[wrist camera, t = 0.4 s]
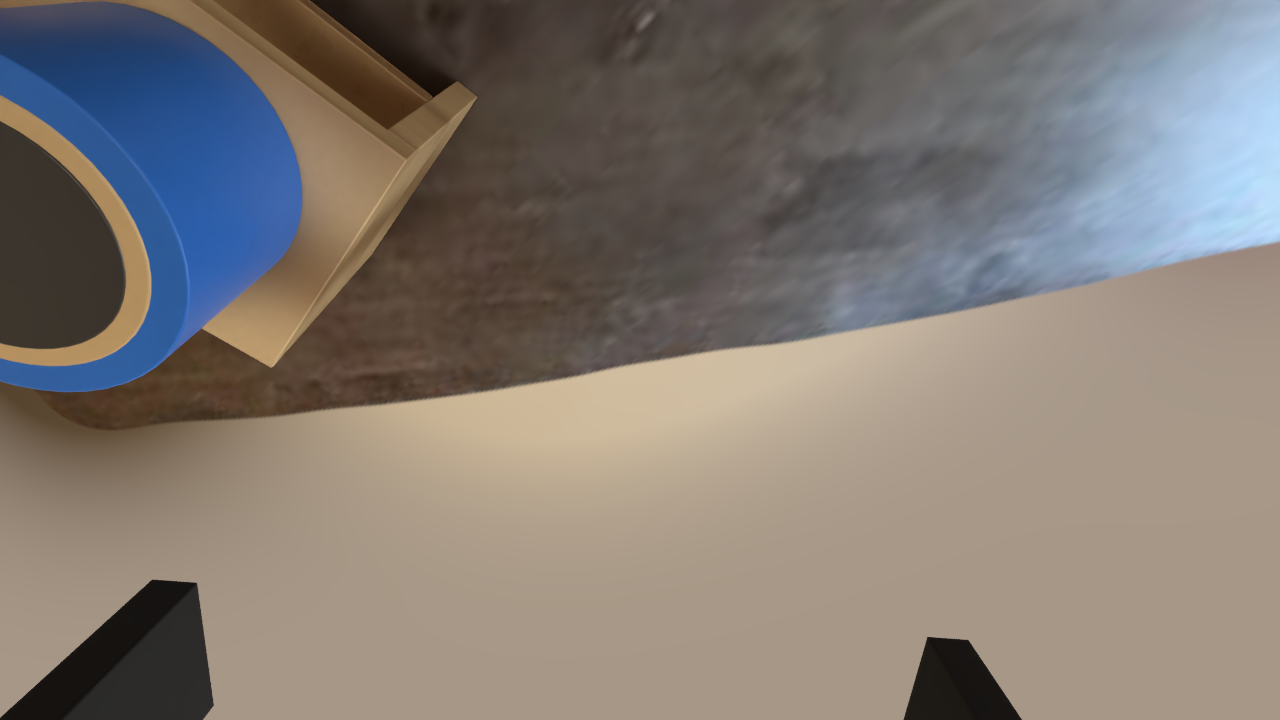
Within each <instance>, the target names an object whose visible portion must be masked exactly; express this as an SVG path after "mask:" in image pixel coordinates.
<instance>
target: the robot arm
mask: <svg viewBox="0 0 1280 720" xmlns="http://www.w3.org/2000/svg"><path fill="white" fill-rule="evenodd" d="M213 706H214V704H213V697H212V689H211V682H210V675H209V668H208V661H207V654H206V646H205V638H204V631H203V624H202V616H201V609H200V602H199V594H198V587H197V583H191V582H177V581H164V580H152V581H150V582H149V583H148V584H147V585H146V586H145V587H144V588H143V589H141V590H140V591H139V592H138V593H137V594H136V595H135V596H134V597H133V598H132V599H130V600H129V601H128V602H127V603H126V604H125V605H124V606H123V607H122V608H121V609H120V610H118V611H117V612H116V613H115V614H114V615H113V616H112V617H111V618H110V619H108V620H107V621H106V622H105V623H104V624H103V625H102V626H101V627H100V628H99V629H97V630H96V631H95V632H94V633H93V634H92V635H91V636H90V637H89V638H88V639H86V640H85V641H84V642H83V643H82V644H81V645H80V646H79V647H78V648H76V649H75V650H74V651H73V652H72V653H71V654H70V655H69V656H68V657H67V658H66V659H64V660H63V661H62V662H61V663H60V664H59V665H58V666H57V667H56V668H54V669H53V670H52V671H51V672H50V673H49V674H48V675H47V676H46V677H45V678H44V679H42V680H41V681H40V682H39V683H38V684H37V685H36V686H35V687H34V688H33V689H31V690H30V691H29V692H28V693H27V694H26V695H25V696H24V697H23V698H22V699H20V700H19V701H18V702H17V703H16V704H15V705H14V706H13V707H12V708H10V709H9V710H8V711H7V712H6V713H5V714H4V715H3V716H2V717H1V718H0V720H203V719H204V718H205V716H206V715H207V714H208V712H209V711H210V709H211V708H212V707H213ZM904 720H1022V719H1021V718H1020V717H1019V715H1018V713H1017V712H1016V710H1015V709H1014V707H1013V706H1012V704H1011V703H1010V701H1009V700H1008V698H1007V697H1006V695H1005V694H1004V692H1003V691H1002V690H1001V688H1000V687H999V685H998V684H997V682H996V681H995V679H994V678H993V676H992V675H991V673H990V672H989V670H988V669H987V667H986V666H985V664H984V663H983V661H982V660H981V658H980V657H979V655H978V654H977V652H976V651H975V650H974V648H973V646H972V645H971V644H970V642H969V640H960V639H947V638H933V637H927V641H926V644H925V648H924V651H923V655H922V658H921V662H920V665H919V669H918V672H917V675H916V679H915V682H914V686H913V690H912V693H911V696H910V700H909V703H908V707H907V710H906V713H905V717H904Z"/></svg>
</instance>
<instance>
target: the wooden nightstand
mask: <svg viewBox="0 0 1280 720" xmlns="http://www.w3.org/2000/svg"><path fill="white" fill-rule="evenodd" d="M97 1H103V2H111V3H120V4H126V5H130V6H134V7H138V8H142V9H145V10H148V11H151V12H153V13H156V14H159V15H161V16H164V17H167V18H169V19H171V20H173V21H175V22H177V23H179V24H181V25H183V26H185V27H187V28H189V29H190V30H192V31H193V32H195V33H197V34H198V35H200V36H201V37H203V38H204V39H206V40H207V41H209V42H210V43H212V44H213V45H214V46H216V47H217V48H218V49H219V50H221V51H222V52H223V53H224V54H226V55H227V56H228V57H229V58H231V59H232V60H233V61H234V62H235V63H236V64H237V65H238V66H239V67H240V68H241V69H242V70H243V71H244V72H245V73H246V74H247V75H248V76H249V77H250V78H251V80H252V81H253V82H254V83H255V84H256V85H257V87H258V88H259V89H260V90H261V91H262V93H263V94H264V95H265V97H266V98H267V100H268V101H269V103H270V104H271V105H272V107H273V108H274V110H275V111H276V113H277V115H278V117H279V119H280V120H281V122H282V124H283V126H284V128H285V129H286V132H287V134H288V136H289V139H290V141H291V143H292V146H293V148H294V151H295V155H296V158H297V162H298V165H299V170H300V176H301V182H302V210H301V218H300V222H299V225H298V229H297V232H296V235H295V237H294V239H293V241H292V243H291V245H290V247H289V249H288V250H287V251H286V253H285V254H284V255H283V257H282V258H281V259H280V260H279V261H278V262H277V263H276V264H275V265H274V266H273V267H272V268H271V269H270V270H269V271H267V272H266V273H265V274H264V275H263V276H262V277H260V278H259V279H258V280H257V281H256V282H255V283H253V284H252V285H251V286H250V287H249V288H248V289H246V290H245V291H244V292H243V293H242V294H241V295H239V296H238V297H237V298H236V299H235V300H234V301H232V302H231V303H230V304H229V305H228V306H227V307H225V308H224V309H223V310H222V311H221V312H220V313H218V314H217V315H216V316H215V317H214V318H213V319H212V320H210V321H209V322H208V323H207V324H206V325H205V326H203V327H202V329H204V330H206V331H207V332H209V333H211V334H213V335H215V336H216V337H218V338H220V339H222V340H223V341H225V342H227V343H229V344H230V345H232V346H234V347H236V348H237V349H239V350H241V351H243V352H245V353H246V354H248V355H250V356H252V357H253V358H255V359H257V360H259V361H260V362H262V363H264V364H266V365H268V366H269V367H273V366H274V365H275V364H276V363H277V362H278V360H279V359H280V358H281V357H282V356H283V355H284V354H285V352H286V351H287V350H288V349H289V348H290V347H291V346H292V345H293V343H294V342H295V341H296V340H297V339H298V338H299V337H300V335H301V334H302V333H303V332H304V331H305V330H306V329H307V327H308V326H309V325H310V324H311V323H312V322H313V321H314V320H315V318H316V317H317V316H318V315H319V314H320V313H321V312H322V310H323V309H324V308H325V307H326V306H327V305H328V304H329V302H330V301H331V300H332V299H333V298H334V297H335V296H336V295H337V293H338V292H339V291H340V290H341V289H342V288H343V287H344V285H345V284H346V283H347V282H348V281H349V280H350V279H351V277H352V276H353V275H354V274H355V273H356V272H357V271H358V270H359V268H360V267H361V266H362V265H363V264H364V263H365V262H366V260H367V259H368V258H369V257H370V256H371V255H372V253H373V252H374V250H375V249H376V247H377V246H378V244H379V243H380V241H381V240H382V238H383V237H384V235H385V234H386V233H387V231H388V230H389V228H390V227H391V225H392V224H393V222H394V221H395V219H396V218H397V216H398V215H399V213H400V212H401V210H402V209H403V207H404V206H405V204H406V203H407V201H408V200H409V198H410V197H411V195H412V194H413V192H414V191H415V189H416V188H417V186H418V185H419V183H420V182H421V180H422V179H423V178H424V176H425V175H426V173H427V172H428V170H429V169H430V167H431V166H432V164H433V163H434V161H435V160H436V158H437V157H438V155H439V154H440V152H441V151H442V149H443V148H444V146H445V145H446V143H447V142H448V140H449V139H450V137H451V136H452V134H453V133H454V131H455V130H456V128H457V127H458V126H459V124H460V123H461V121H462V120H463V118H464V117H465V115H466V114H467V112H468V111H469V109H470V108H471V106H472V105H473V103H474V102H475V100H476V99H477V96H476V95H474V94H473V93H472V92H471V91H469V90H468V89H467V88H466V87H464V86H463V85H462V84H461V83H459V82H458V81H456V82H455V83H453V84H452V85H451V86H449V87H448V88H446V89H445V90H443V91H442V92H441V93H439V94H438V95H436V96H435V97H432V96H431V95H430V94H429V93H428V92H426V91H425V90H424V89H422V88H421V87H420V86H419V85H417V84H416V83H415V82H414V81H412V80H411V79H410V78H408V77H407V76H406V75H405V74H403V73H402V72H401V71H399V70H398V69H397V68H396V67H394V66H393V65H392V64H391V63H389V62H388V61H387V60H385V59H384V58H383V57H382V56H380V55H379V54H378V53H377V52H375V51H374V50H373V49H371V48H370V47H369V46H368V45H366V44H365V43H364V42H362V41H361V40H360V39H359V38H357V37H356V36H355V35H354V34H352V33H351V32H350V31H348V30H347V29H346V28H345V27H343V26H342V25H341V24H339V23H338V22H337V21H336V20H334V19H333V18H332V17H331V16H329V15H328V14H327V13H325V12H324V11H323V10H322V9H320V8H319V7H318V6H317V5H315V4H314V3H313V2H311V1H310V0H0V8H10V7H23V6H35V5H48V4H61V3H73V2H97Z"/></svg>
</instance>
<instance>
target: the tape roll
mask: <svg viewBox="0 0 1280 720" xmlns="http://www.w3.org/2000/svg"><path fill="white" fill-rule="evenodd" d="M301 210H302V182H301V176H300V170H299V165H298V162H297V158H296V155H295V151H294V148H293V146H292V143H291V141H290V139H289V136H288V134H287V132H286V129H285V128H284V126H283V124H282V122H281V120H280V119H279V117H278V115H277V113H276V111H275V110H274V108H273V107H272V105H271V104H270V103H269V101H268V100H267V98H266V97H265V95H264V94H263V93H262V91H261V90H260V89H259V88H258V87H257V85H256V84H255V83H254V82H253V81H252V80H251V78H250V77H249V76H248V75H247V74H246V73H245V72H244V71H243V70H242V69H241V68H240V67H239V66H238V65H237V64H236V63H235V62H234V61H233V60H232V59H231V58H229V57H228V56H227V55H226V54H224V53H223V52H222V51H221V50H219V49H218V48H217V47H216V46H214V45H213V44H212V43H210V42H209V41H207V40H206V39H204V38H203V37H201V36H200V35H198V34H197V33H195V32H193V31H192V30H190V29H189V28H187V27H185V26H183V25H181V24H179V23H177V22H175V21H173V20H171V19H169V18H167V17H164V16H161V15H159V14H156V13H153V12H151V11H148V10H145V9H142V8H138V7H134V6H130V5H126V4H120V3H111V2H103V1H97V2H73V3H61V4H48V5H35V6H23V7H10V8H0V381H1V382H5V383H9V384H13V385H16V386H21V387H27V388H32V389H38V390H46V391H58V392H86V391H93V390H100V389H107V388H110V387H114V386H118V385H121V384H125V383H128V382H130V381H132V380H134V379H137V378H139V377H141V376H143V375H145V374H146V373H148V372H149V371H151V370H152V369H154V368H155V367H157V366H158V365H159V364H160V363H161V362H163V361H164V360H165V359H166V358H167V357H168V356H170V355H171V354H172V353H173V352H174V351H175V350H177V349H178V348H179V347H180V346H181V345H182V344H184V343H185V342H186V341H187V340H188V339H189V338H191V337H192V336H193V335H194V334H195V333H196V332H198V331H199V330H200V329H201V328H202V327H203V326H205V325H206V324H207V323H208V322H209V321H210V320H212V319H213V318H214V317H215V316H216V315H217V314H218V313H220V312H221V311H222V310H223V309H224V308H225V307H227V306H228V305H229V304H230V303H231V302H232V301H234V300H235V299H236V298H237V297H238V296H239V295H241V294H242V293H243V292H244V291H245V290H246V289H248V288H249V287H250V286H251V285H252V284H253V283H255V282H256V281H257V280H258V279H259V278H260V277H262V276H263V275H264V274H265V273H266V272H267V271H269V270H270V269H271V268H272V267H273V266H274V265H275V264H276V263H277V262H278V261H279V260H280V259H281V258H282V257H283V255H284V254H285V253H286V251H287V250H288V249H289V247H290V245H291V243H292V241H293V239H294V237H295V235H296V232H297V229H298V225H299V222H300V218H301Z"/></svg>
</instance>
